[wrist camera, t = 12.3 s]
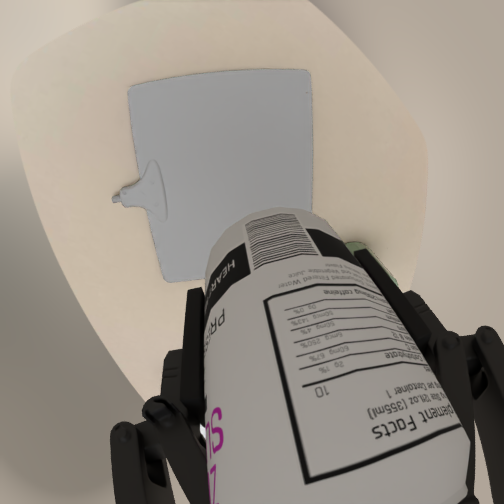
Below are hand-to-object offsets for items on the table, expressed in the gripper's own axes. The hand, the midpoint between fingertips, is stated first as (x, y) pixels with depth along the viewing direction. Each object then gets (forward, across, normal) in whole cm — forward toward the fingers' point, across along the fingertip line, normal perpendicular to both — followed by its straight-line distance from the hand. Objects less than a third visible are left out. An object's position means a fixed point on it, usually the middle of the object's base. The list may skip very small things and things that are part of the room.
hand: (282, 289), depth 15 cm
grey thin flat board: (+19, -4, +1) cm, 20 cm away
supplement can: (+2, 0, 0) cm, 2 cm away
